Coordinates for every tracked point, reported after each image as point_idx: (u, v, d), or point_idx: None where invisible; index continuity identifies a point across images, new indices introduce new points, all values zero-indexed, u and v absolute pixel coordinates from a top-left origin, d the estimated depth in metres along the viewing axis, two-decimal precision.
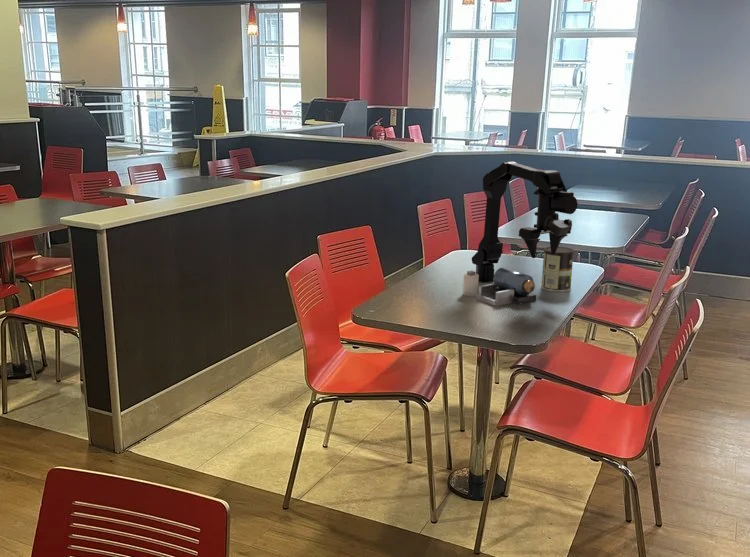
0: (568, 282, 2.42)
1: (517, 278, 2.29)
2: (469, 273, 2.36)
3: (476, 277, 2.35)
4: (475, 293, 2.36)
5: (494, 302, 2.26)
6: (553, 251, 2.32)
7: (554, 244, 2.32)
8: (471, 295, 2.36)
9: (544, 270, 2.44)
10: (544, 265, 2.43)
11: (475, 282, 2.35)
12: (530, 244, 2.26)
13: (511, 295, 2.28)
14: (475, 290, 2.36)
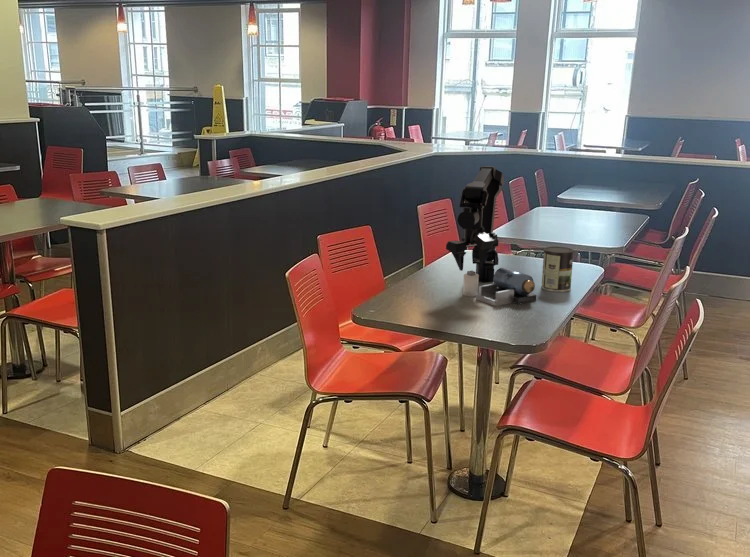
0: (568, 282, 2.42)
1: (517, 278, 2.29)
2: (469, 273, 2.36)
3: (476, 277, 2.35)
4: (475, 293, 2.36)
5: (494, 302, 2.26)
6: (482, 263, 2.38)
7: (482, 256, 2.38)
8: (471, 295, 2.36)
9: (544, 270, 2.44)
10: (544, 265, 2.43)
11: (475, 282, 2.35)
12: (457, 257, 2.32)
13: (511, 295, 2.28)
14: (475, 290, 2.36)
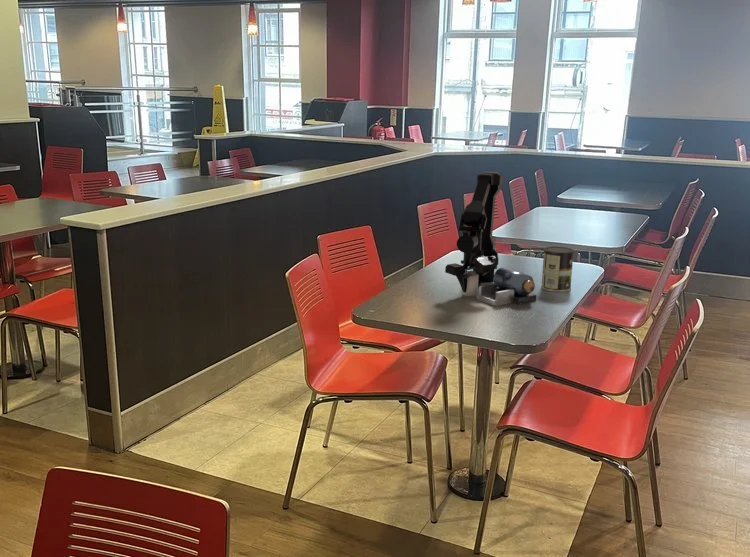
0: (568, 282, 2.42)
1: (517, 278, 2.29)
2: (469, 273, 2.36)
3: (476, 277, 2.35)
4: (475, 293, 2.36)
5: (494, 302, 2.26)
6: None
7: None
8: (471, 295, 2.36)
9: (544, 270, 2.44)
10: (544, 265, 2.43)
11: (475, 282, 2.35)
12: (461, 279, 2.35)
13: (511, 295, 2.28)
14: (475, 290, 2.36)
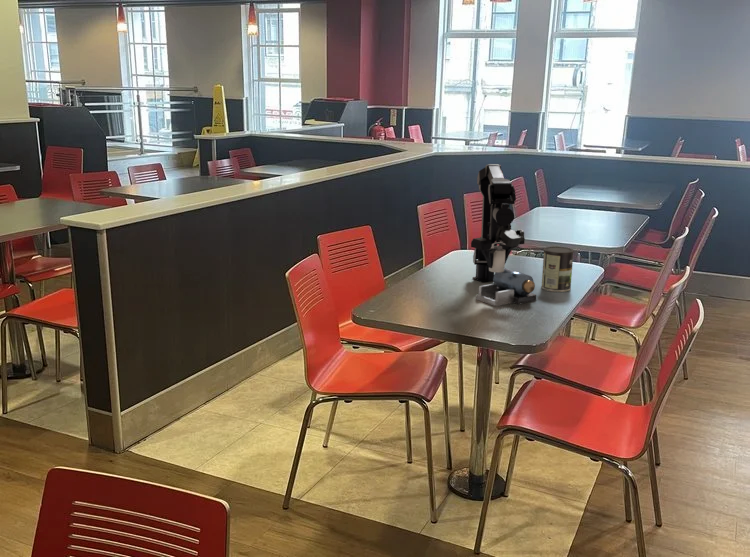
0: (568, 282, 2.42)
1: (517, 278, 2.29)
2: (496, 248, 2.26)
3: (503, 252, 2.25)
4: (502, 269, 2.27)
5: (494, 302, 2.26)
6: None
7: None
8: (498, 271, 2.26)
9: (544, 270, 2.44)
10: (544, 265, 2.43)
11: (502, 257, 2.26)
12: (487, 254, 2.26)
13: (511, 295, 2.28)
14: (502, 266, 2.26)
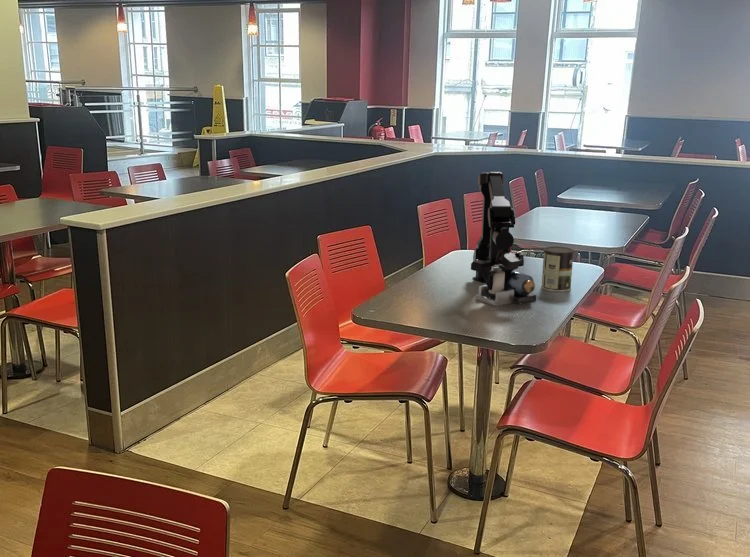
0: (568, 282, 2.42)
1: (517, 278, 2.29)
2: (495, 270, 2.28)
3: (502, 274, 2.27)
4: None
5: (494, 302, 2.26)
6: None
7: None
8: None
9: (544, 270, 2.44)
10: (544, 265, 2.43)
11: (502, 280, 2.28)
12: (487, 276, 2.28)
13: (511, 295, 2.28)
14: (501, 288, 2.28)
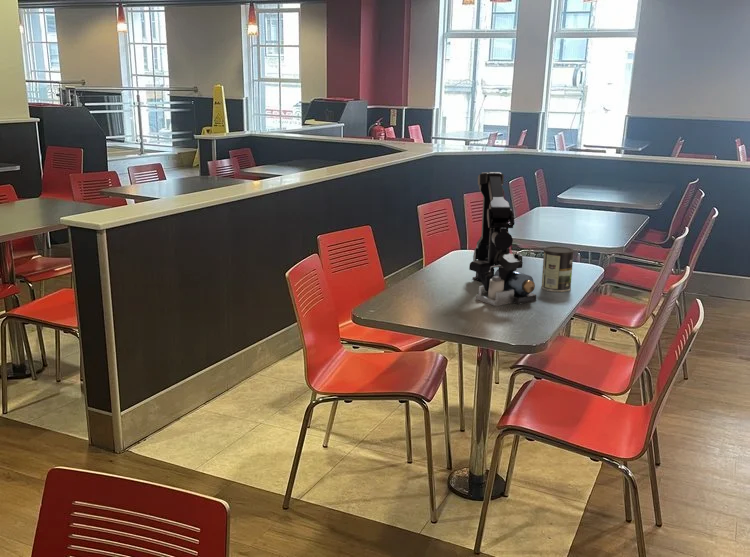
0: (568, 282, 2.42)
1: (517, 278, 2.29)
2: (494, 279, 2.29)
3: (502, 283, 2.28)
4: None
5: (494, 302, 2.26)
6: None
7: (502, 278, 2.31)
8: None
9: (544, 270, 2.44)
10: (544, 265, 2.43)
11: (501, 288, 2.28)
12: (483, 277, 2.27)
13: (511, 295, 2.28)
14: None
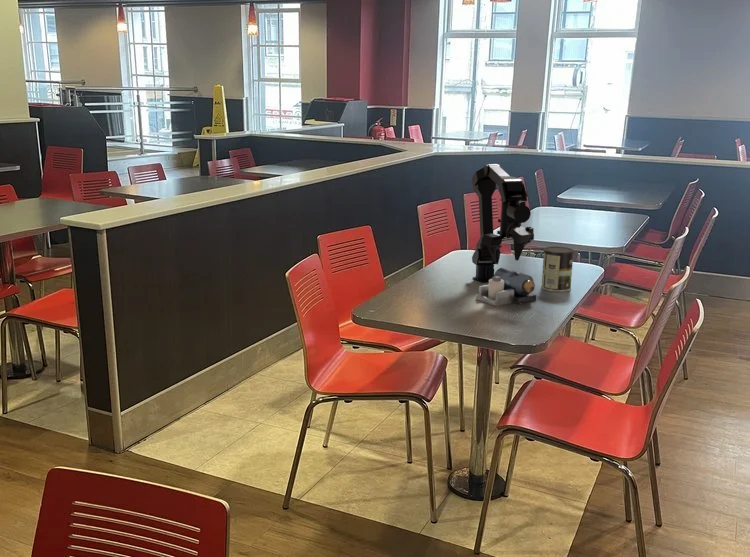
0: (568, 282, 2.42)
1: (517, 278, 2.29)
2: (494, 279, 2.29)
3: (502, 283, 2.28)
4: None
5: (494, 302, 2.26)
6: (517, 257, 2.37)
7: (517, 250, 2.36)
8: None
9: (544, 270, 2.44)
10: (544, 265, 2.43)
11: (501, 288, 2.28)
12: (493, 250, 2.31)
13: (511, 295, 2.28)
14: None
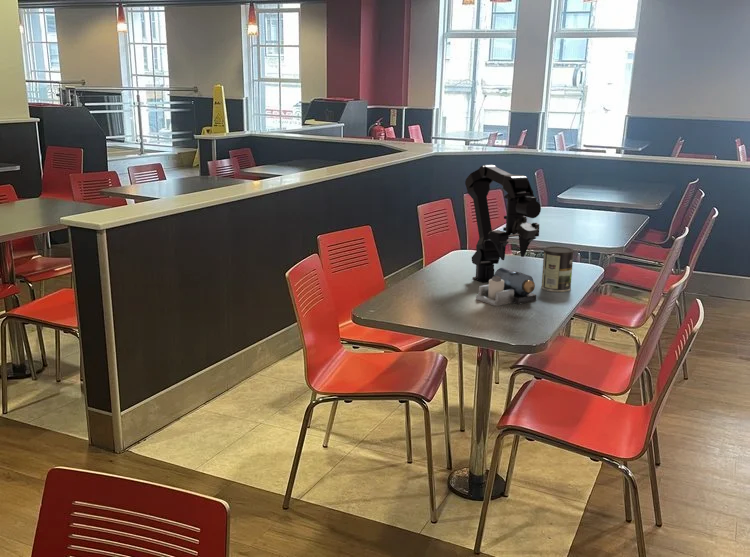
0: (568, 282, 2.42)
1: (517, 278, 2.29)
2: (494, 279, 2.29)
3: (502, 283, 2.28)
4: None
5: (494, 302, 2.26)
6: (522, 253, 2.40)
7: (523, 246, 2.40)
8: None
9: (544, 270, 2.44)
10: (544, 265, 2.43)
11: (501, 288, 2.28)
12: (499, 246, 2.35)
13: (511, 295, 2.28)
14: None
